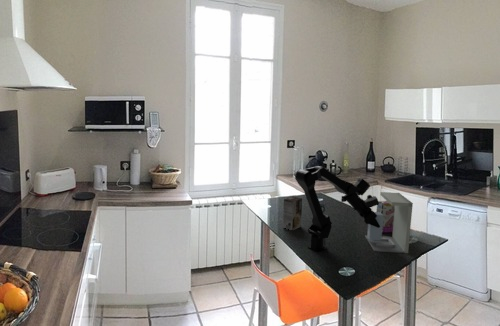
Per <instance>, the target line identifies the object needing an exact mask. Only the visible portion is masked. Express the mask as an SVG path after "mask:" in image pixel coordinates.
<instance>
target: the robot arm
mask: <svg viewBox="0 0 500 326" xmlns="http://www.w3.org/2000/svg"><path fill="white" fill-rule="evenodd" d="M294 177H295V181H296V182H297V184H298V186H299V187H301V189H302V190H303V191H304V192H303V193H304V195H305V199H306V200H307V203H308V205H309V209H310V211H311V214H312V219H311V222H312V223H311V225H310V226H309V228H308V229H307V232H308V234H309V235H311V236H310V245H309V246H307V248H309V249H310V250H312V251H315V252H318V253H319V252H323V251H325V250H327V249H328V247H326V239H328V238H329V236H330V232H331V230H332V228H333V226H332V225H333V222H332V221H331V217H330V216H329V215H327V214H324V212H323V209H322V206H321V203H320V200H319V197H318V195H317V192H316V189H315V186H316V181H318V180H320V178H321V179H323V180H325V181H326V182H327V183H330V184H331V185H332V186H334V189H335V190H337V192H338V193H341V194H344V196H343V195H341V199H340V201H341V203H343V202H348V203H347V204H349V205H350V206H351V207H352V208H353V210H354V211H356V213H358V215H359V216H360V217H361V218H362V220H363V222H364V223H365V224H366V225H368V224H370V225H373V226H375V227H377V228H379V227H380V225H379V224H378V222H377V220H376V217H377V215H376V214H375V213H374V212H375V211H374V210H372V208H373V207H375V206H376V207H377V205H379V202H378V201H379V199H378V197H377V196H374V195H373V196H372V195H371V194H368V195H367V196H366V198H365V199H363V198H361V197H360V196H363V195H364V194H365V193H366V192H367V191H368V190H369V189H370V187H371V185H370V184H369V182H367V181H366V180H364V178H362V177H359V178H358V179H357V181H356V182H355V183H352V182H349V181H347V180H345V179H344V180H343V179H342V178H340V177H338V176H337V175H335V174H334V173H332V172H331V171H330V170H328V169H327V168H326V167H324V166H322V165H320V166H319V165H315V166H313V167H308V168H305V169H301V168H300V169H299V170H297V171H296V173H295V175H294Z"/></svg>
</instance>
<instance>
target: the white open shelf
mask: <svg viewBox="0 0 500 326" xmlns="http://www.w3.org/2000/svg"><path fill="white" fill-rule="evenodd" d="M380 196H381V197H382V198H383V199H384V201H387V202H389V203H390V204H391V205H393V206H395V211H394V222H393V232H392V236H386V235H385V236H384V235H383V236H382V238H381V241H378V240H369V239H368V237H367V234H365V235H364V237H365V239H366V240H367V242H368V243H369V245H370V246H371V248H372V251H374V252H378V253H379V252H380V253H381V252H382V253H400V254H409V247H410V236H411V228H412V227H411V226H412V225H411V224H412V217H413V216H412V215H413V214H412V213H413V204H414V203H413V202H412V201H411V200H409V199H408V198H406V197H405V196H404V195H403V194H401V193H400V192H391V191H389V192H388V191H387V192H386V191H381V192H380Z"/></svg>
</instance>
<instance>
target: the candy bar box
mask: <svg viewBox="0 0 500 326" xmlns="http://www.w3.org/2000/svg"><path fill="white" fill-rule="evenodd" d="M378 202H379V205H376V211H375V212H381V213H382V214H383V226H382V234H386V233H387V234H388V233H393V222H394V211H395V206H393V205H391V204H390V203H389V202H387V201H386V200H378Z"/></svg>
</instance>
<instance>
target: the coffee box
mask: <svg viewBox="0 0 500 326" xmlns="http://www.w3.org/2000/svg"><path fill="white" fill-rule="evenodd" d="M302 206H303V198H301V197H297V196H290V197H287V198H285V199H283V214H282V215H283V218H282V228H283V229H284V228H286V229H285V230H288V229H289V231H291V230H293V231H295V230H297V229H298V228H301V227H302V213H303V207H302Z"/></svg>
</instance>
